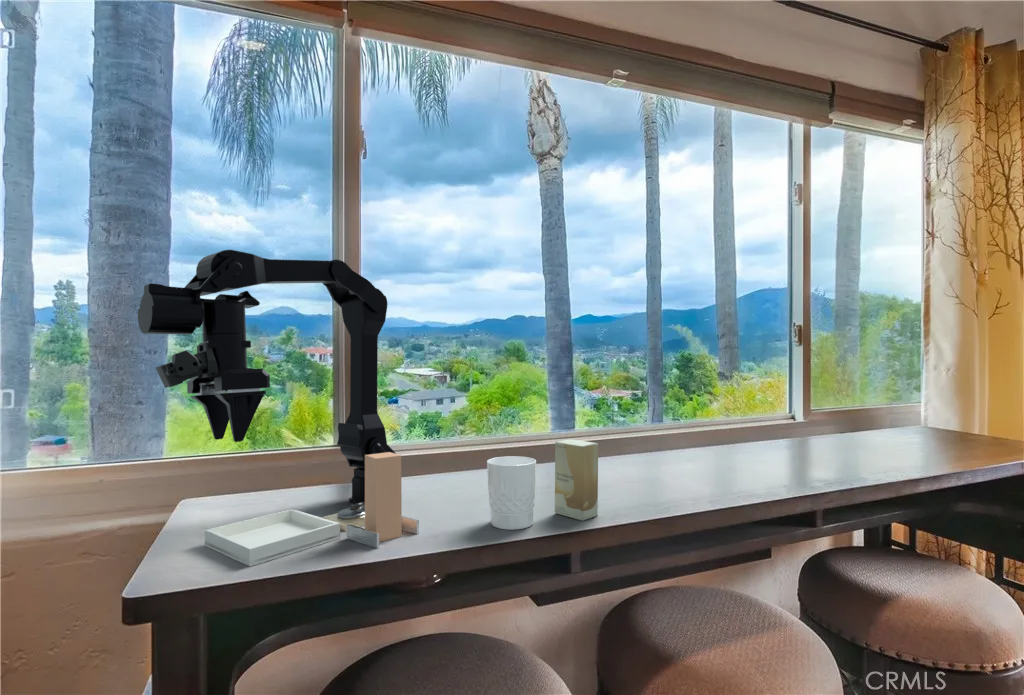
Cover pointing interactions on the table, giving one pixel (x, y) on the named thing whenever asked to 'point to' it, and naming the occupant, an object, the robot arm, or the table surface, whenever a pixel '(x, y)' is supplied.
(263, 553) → the tray
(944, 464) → the table surface
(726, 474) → the table surface
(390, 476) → the tan rectangular block
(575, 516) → the skincare box
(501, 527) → the white cup
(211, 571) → the table surface
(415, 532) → the bracket
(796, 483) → the table surface
